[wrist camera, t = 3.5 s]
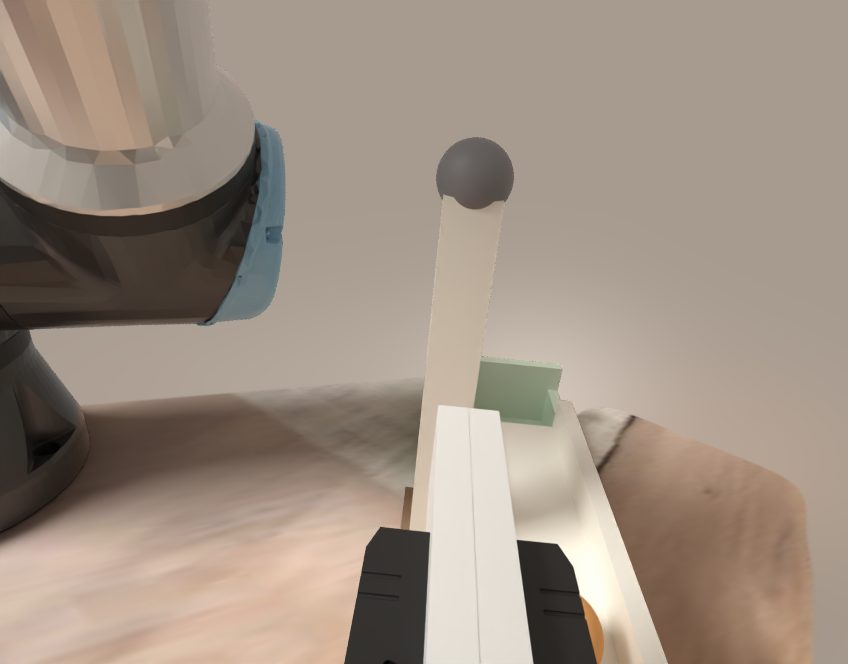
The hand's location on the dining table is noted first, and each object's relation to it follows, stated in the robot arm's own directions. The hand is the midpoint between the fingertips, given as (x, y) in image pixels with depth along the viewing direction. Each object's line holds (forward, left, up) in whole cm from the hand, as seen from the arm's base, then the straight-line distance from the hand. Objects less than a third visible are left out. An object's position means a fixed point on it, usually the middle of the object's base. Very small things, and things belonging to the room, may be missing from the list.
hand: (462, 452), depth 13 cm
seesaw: (-3, +8, -12) cm, 14 cm away
